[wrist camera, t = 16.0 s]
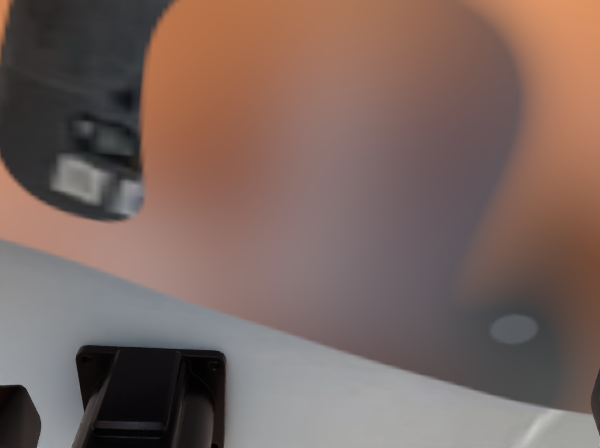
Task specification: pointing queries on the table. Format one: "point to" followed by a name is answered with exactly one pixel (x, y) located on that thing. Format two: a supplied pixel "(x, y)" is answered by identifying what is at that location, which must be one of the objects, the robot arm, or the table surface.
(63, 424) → the table surface
